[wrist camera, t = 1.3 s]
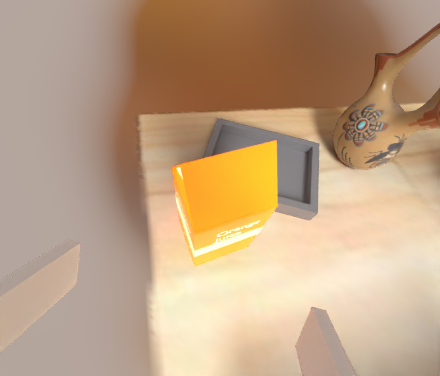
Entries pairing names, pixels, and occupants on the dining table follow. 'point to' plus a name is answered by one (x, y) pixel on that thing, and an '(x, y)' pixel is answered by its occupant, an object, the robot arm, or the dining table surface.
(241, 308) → the dining table surface
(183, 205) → the orange juice
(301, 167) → the tray
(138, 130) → the dining table surface
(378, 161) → the ceramic vessel
